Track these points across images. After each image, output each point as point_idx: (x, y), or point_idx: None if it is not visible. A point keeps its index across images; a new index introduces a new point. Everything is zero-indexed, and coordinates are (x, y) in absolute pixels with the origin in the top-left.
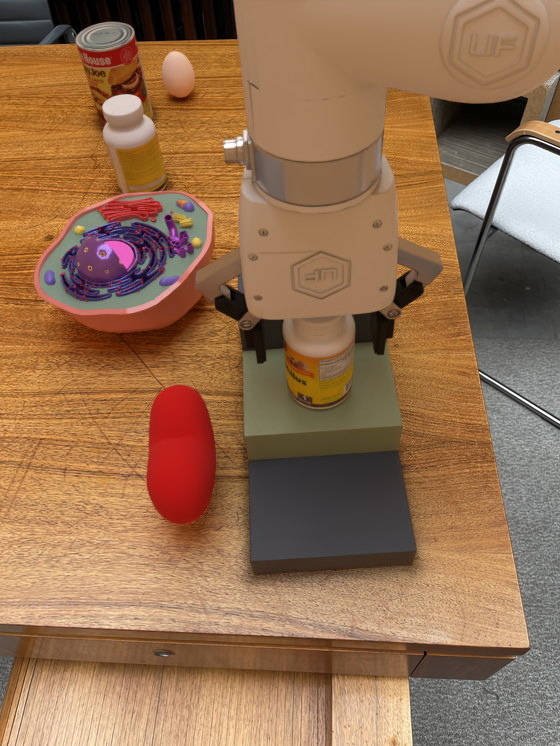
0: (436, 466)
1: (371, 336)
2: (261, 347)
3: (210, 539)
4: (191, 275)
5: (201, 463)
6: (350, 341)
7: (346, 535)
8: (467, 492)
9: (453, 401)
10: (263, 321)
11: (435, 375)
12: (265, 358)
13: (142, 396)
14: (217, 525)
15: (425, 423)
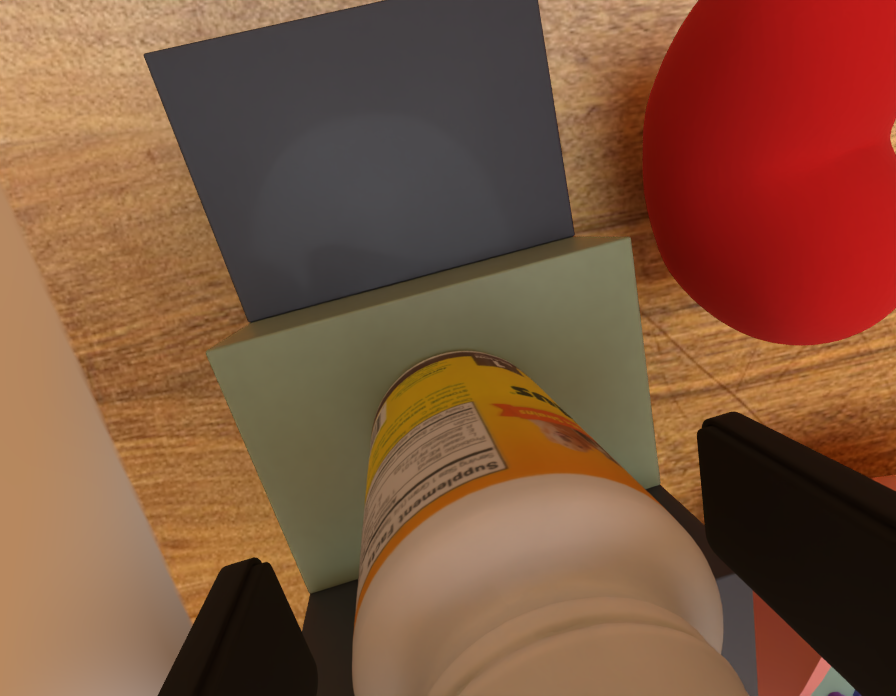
0: (185, 328)
1: (300, 634)
2: (806, 472)
3: (604, 83)
4: (804, 651)
5: (770, 73)
6: (363, 611)
7: (323, 73)
8: (106, 279)
9: (182, 480)
10: (793, 610)
11: (232, 528)
12: (720, 436)
13: (767, 367)
14: (595, 116)
15: (229, 420)
